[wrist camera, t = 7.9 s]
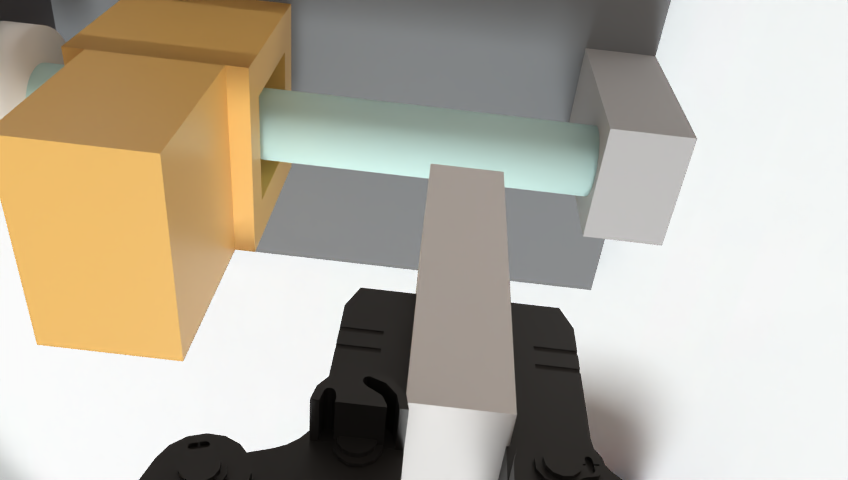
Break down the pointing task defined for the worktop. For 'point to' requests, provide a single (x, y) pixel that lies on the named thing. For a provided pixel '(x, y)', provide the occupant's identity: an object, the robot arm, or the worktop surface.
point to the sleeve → (143, 171)
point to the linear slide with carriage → (445, 121)
